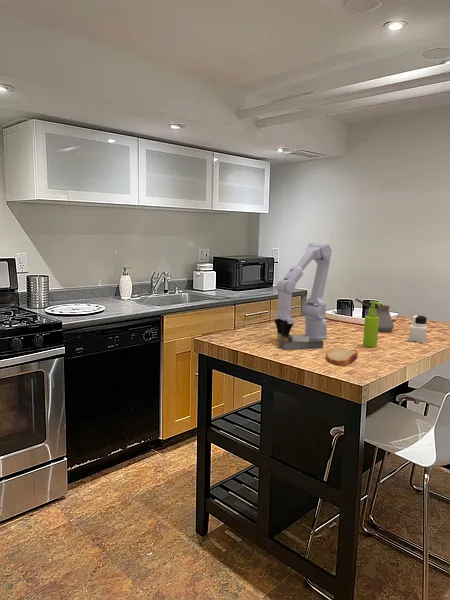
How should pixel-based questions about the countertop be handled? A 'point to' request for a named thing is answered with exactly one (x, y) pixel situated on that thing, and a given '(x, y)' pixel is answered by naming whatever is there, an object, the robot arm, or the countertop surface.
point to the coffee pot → (382, 317)
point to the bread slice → (341, 356)
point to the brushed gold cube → (279, 336)
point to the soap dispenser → (371, 326)
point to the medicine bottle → (418, 329)
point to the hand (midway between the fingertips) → (282, 336)
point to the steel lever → (298, 338)
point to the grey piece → (299, 343)
